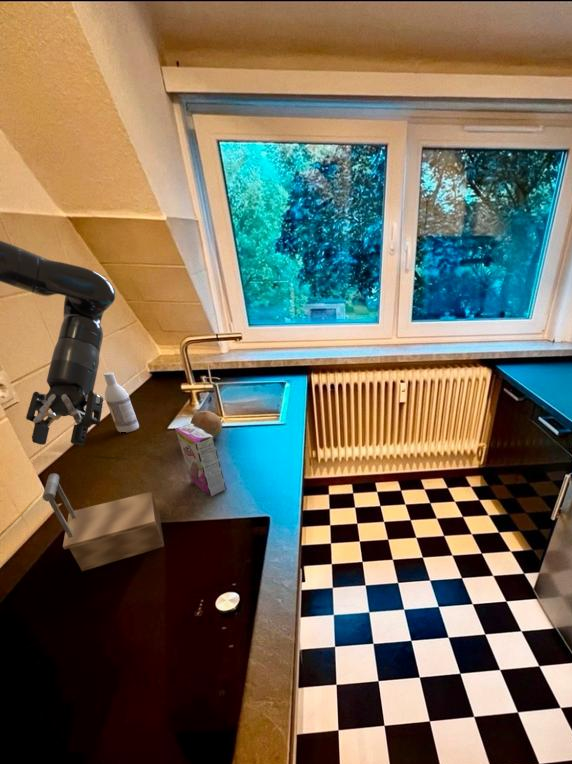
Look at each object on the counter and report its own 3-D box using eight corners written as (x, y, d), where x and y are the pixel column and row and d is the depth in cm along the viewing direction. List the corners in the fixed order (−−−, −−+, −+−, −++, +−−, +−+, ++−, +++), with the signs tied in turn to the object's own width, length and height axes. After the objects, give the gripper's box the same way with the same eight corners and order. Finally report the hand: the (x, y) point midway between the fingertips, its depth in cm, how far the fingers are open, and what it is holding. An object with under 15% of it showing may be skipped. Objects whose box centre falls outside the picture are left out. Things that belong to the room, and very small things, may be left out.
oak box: (82, 571, 79) (69, 548, 76) (86, 535, 88) (74, 513, 85) (164, 546, 85) (155, 524, 82) (159, 515, 94) (152, 494, 91)
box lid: (64, 549, 75) (36, 501, 69) (70, 514, 85) (46, 469, 78) (155, 524, 82) (137, 478, 75) (152, 494, 91) (136, 451, 85)
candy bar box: (190, 482, 107) (173, 428, 98) (206, 475, 110) (192, 422, 101) (210, 498, 100) (194, 442, 92) (227, 490, 104) (214, 435, 95)
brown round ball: (229, 432, 133) (223, 405, 128) (217, 446, 125) (211, 417, 120) (202, 432, 134) (195, 404, 129) (189, 445, 126) (181, 416, 120)
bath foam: (116, 428, 137) (94, 372, 127) (137, 423, 141) (118, 368, 130) (119, 435, 133) (97, 378, 122) (141, 430, 136) (121, 374, 125)
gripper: (26, 358, 75) (6, 437, 72) (90, 357, 73) (72, 439, 70) (60, 376, 83) (44, 448, 80) (120, 375, 81) (105, 450, 77)
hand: (57, 444), depth 75 cm, fingers open, 8 cm apart
